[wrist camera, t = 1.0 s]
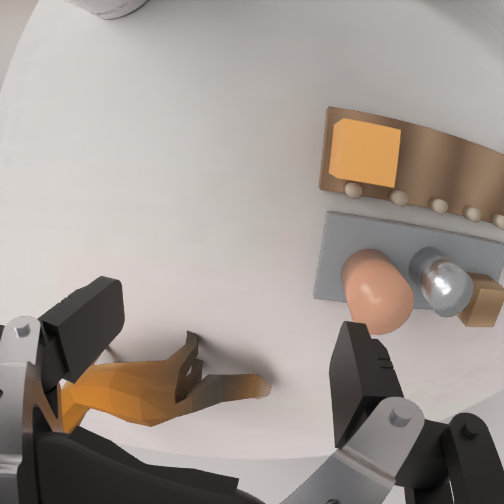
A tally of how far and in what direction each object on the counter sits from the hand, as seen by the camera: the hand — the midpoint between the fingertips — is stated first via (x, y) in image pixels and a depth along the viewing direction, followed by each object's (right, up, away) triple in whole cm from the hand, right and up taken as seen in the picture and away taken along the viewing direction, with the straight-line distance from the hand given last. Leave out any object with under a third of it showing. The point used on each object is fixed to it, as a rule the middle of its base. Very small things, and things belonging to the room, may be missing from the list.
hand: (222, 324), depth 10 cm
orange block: (+9, +10, +12) cm, 18 cm away
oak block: (+24, -2, +15) cm, 28 cm away
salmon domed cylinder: (+11, 0, +16) cm, 19 cm away
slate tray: (+18, +1, +16) cm, 24 cm away
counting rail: (+18, +10, +13) cm, 24 cm away
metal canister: (+18, +1, +15) cm, 23 cm away
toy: (-11, -11, +25) cm, 30 cm away
